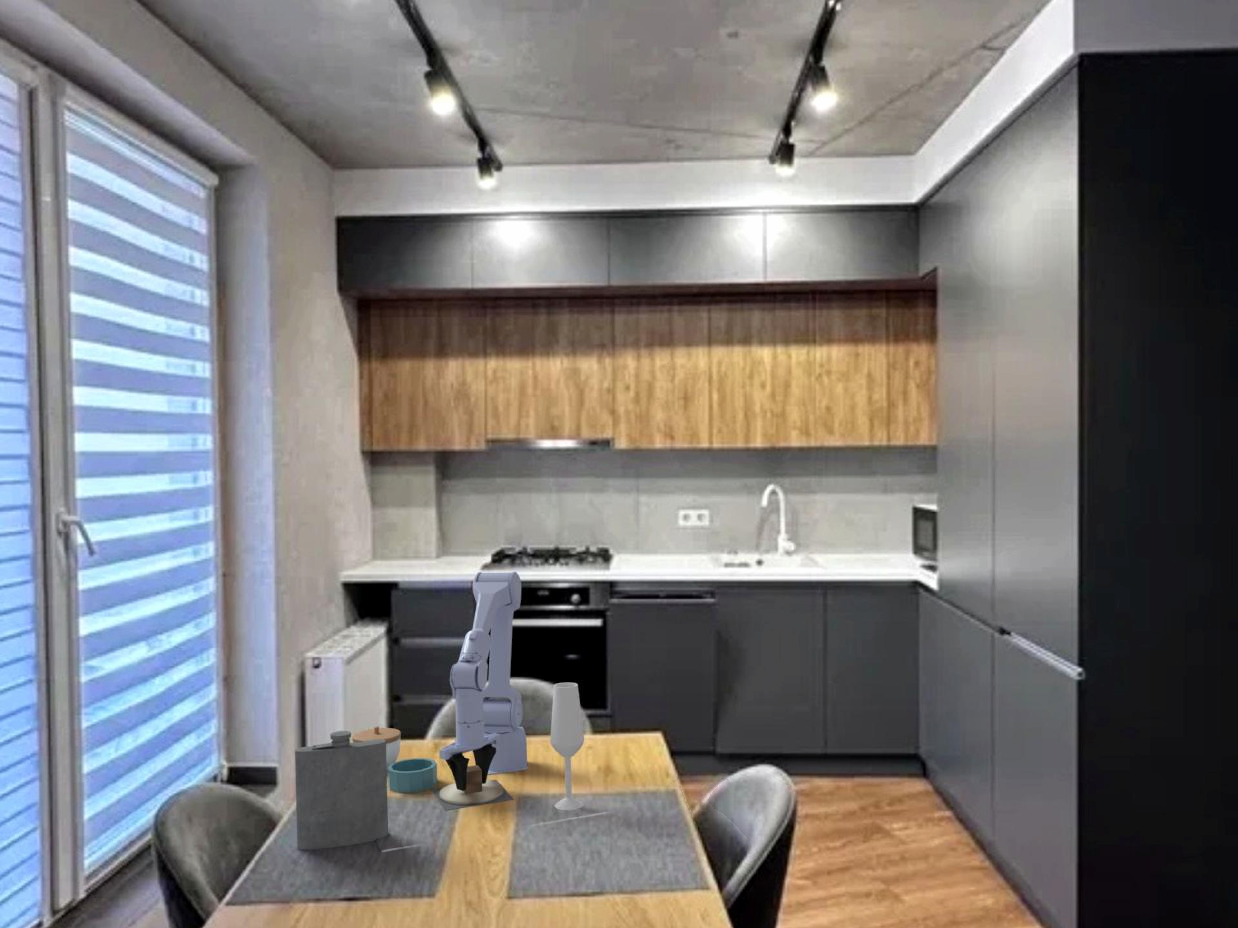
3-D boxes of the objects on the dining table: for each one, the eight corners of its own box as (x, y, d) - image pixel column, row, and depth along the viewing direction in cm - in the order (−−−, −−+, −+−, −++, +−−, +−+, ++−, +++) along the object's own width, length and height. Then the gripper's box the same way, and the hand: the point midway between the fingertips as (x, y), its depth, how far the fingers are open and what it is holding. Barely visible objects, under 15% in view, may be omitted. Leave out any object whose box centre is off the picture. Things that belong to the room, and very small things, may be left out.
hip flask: (387, 832, 176) (385, 724, 176) (389, 840, 172) (386, 730, 173) (297, 844, 172) (295, 733, 172) (296, 852, 168) (293, 739, 168)
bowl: (431, 776, 209) (431, 755, 209) (440, 789, 200) (440, 768, 200) (385, 782, 205) (384, 762, 205) (392, 796, 196) (392, 775, 196)
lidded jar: (394, 774, 211) (393, 732, 211) (347, 775, 211) (346, 733, 211) (406, 760, 222) (405, 720, 222) (361, 761, 222) (360, 721, 222)
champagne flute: (592, 803, 189) (588, 682, 189) (574, 814, 183) (571, 689, 183) (563, 798, 192) (560, 680, 192) (545, 809, 186) (542, 687, 186)
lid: (494, 780, 204) (493, 755, 204) (510, 798, 192) (510, 772, 192) (433, 789, 199) (433, 764, 199) (447, 808, 187) (446, 782, 187)
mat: (496, 781, 204) (496, 779, 204) (513, 801, 191) (513, 799, 191) (431, 790, 199) (431, 789, 199) (444, 812, 186) (444, 810, 186)
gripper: (484, 709, 203) (485, 773, 203) (429, 724, 193) (431, 791, 192) (506, 714, 199) (507, 779, 199) (451, 729, 188) (452, 798, 188)
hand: (471, 785), depth 195 cm, fingers closed on lid, 5 cm apart
